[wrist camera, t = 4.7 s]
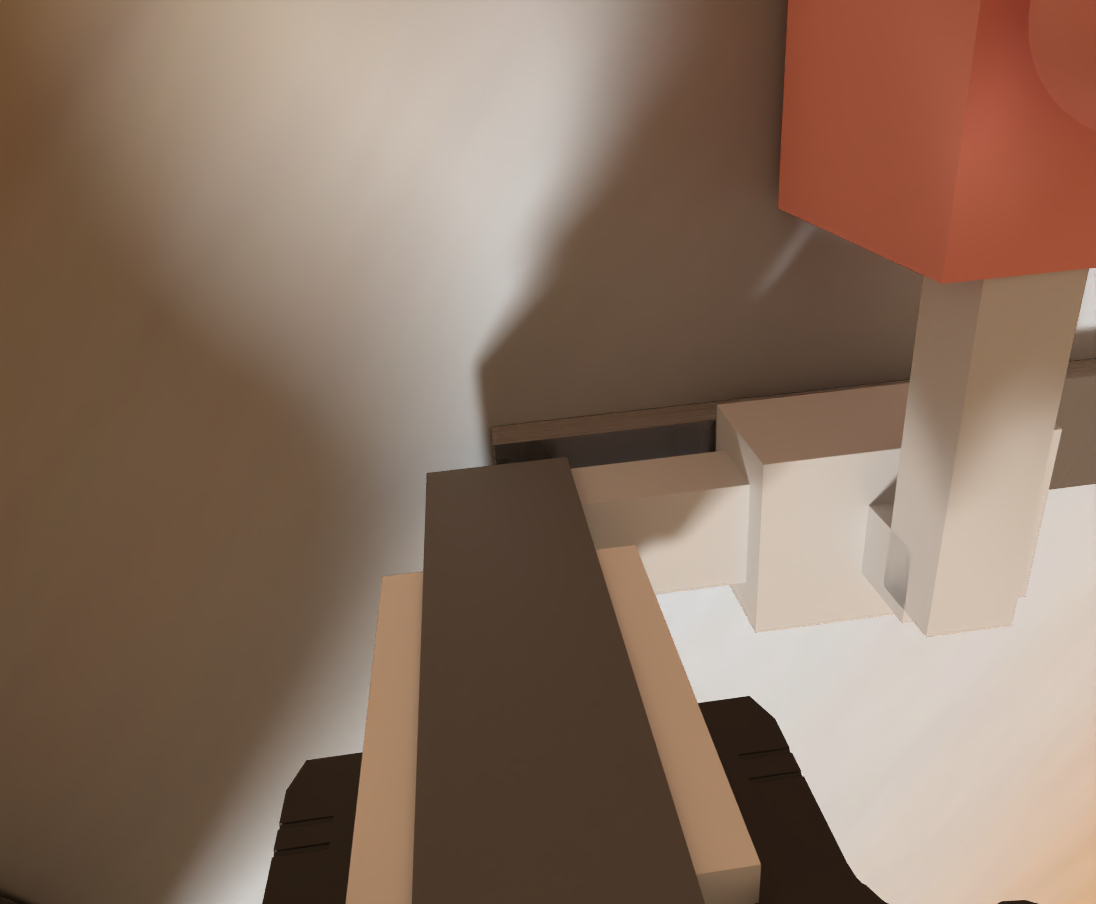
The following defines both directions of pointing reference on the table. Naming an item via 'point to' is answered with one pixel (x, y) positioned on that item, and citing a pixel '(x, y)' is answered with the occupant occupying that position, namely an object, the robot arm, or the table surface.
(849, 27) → the striker slider
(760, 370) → the table surface
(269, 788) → the table surface
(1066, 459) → the rail
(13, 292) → the table surface
